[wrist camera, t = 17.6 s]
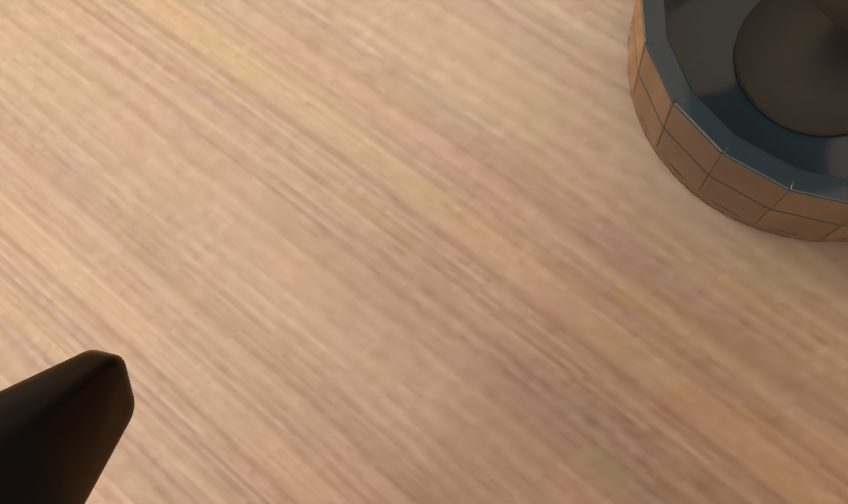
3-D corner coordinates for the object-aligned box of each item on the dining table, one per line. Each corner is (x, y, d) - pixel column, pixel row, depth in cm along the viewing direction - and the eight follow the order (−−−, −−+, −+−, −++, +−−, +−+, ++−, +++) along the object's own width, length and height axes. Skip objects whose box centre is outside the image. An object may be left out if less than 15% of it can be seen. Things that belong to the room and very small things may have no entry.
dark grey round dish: (1129, 72, 21) (1256, -4, 17) (810, 322, 21) (866, 303, 17) (831, -174, 24) (883, -286, 20) (553, 47, 24) (552, -22, 20)
